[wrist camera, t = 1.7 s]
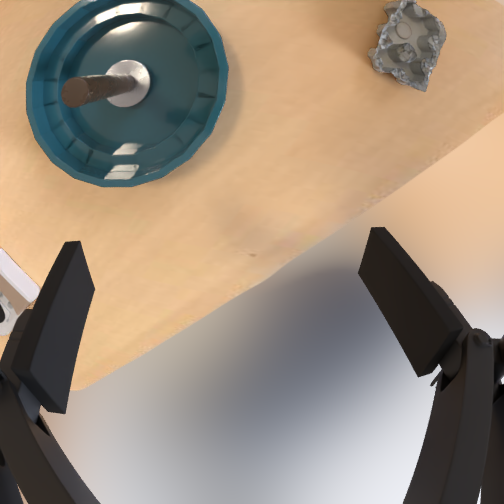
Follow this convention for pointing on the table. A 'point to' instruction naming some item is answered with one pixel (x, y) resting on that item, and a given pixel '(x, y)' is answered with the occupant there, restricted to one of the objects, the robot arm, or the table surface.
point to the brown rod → (110, 86)
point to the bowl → (142, 114)
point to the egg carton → (408, 43)
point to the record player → (13, 292)
